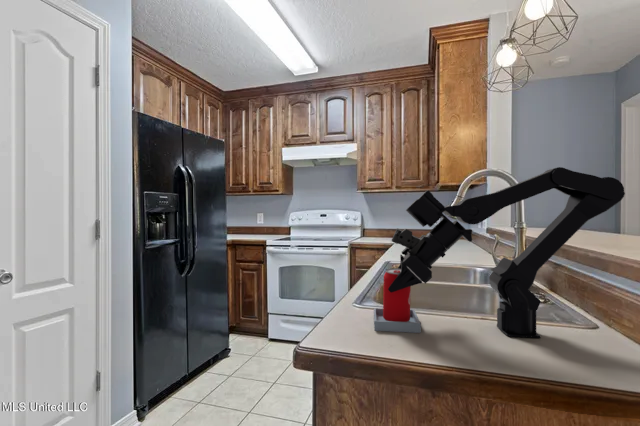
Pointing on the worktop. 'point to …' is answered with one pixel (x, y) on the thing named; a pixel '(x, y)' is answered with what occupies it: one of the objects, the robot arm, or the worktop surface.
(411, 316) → the tray
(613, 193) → the robot arm
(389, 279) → the beverage can
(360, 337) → the worktop surface
